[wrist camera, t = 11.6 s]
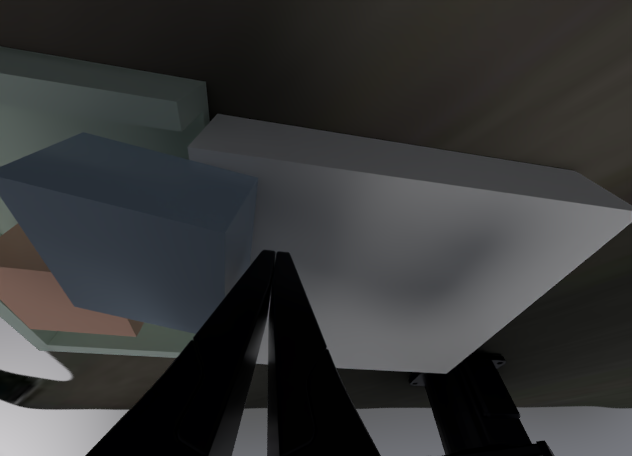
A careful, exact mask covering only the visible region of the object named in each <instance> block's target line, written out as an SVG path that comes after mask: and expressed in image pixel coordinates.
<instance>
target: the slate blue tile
mask: <svg viewBox="0 0 632 456" xmlns="http://www.w3.org/2000/svg"><path fill="white" fill-rule="evenodd" d="M257 186H258V178H256V177H253V176H249V175H245V174H241V173H237V172H234V171H230V170H226V169H222V168H218V167H214V166H211V165H207V164H203V163H199V162H195V161H192V160H188V159H184V158H180V157H176V156H173V155H169V154H165V153H161V152H157V151H153V150H150V149H146V148H142V147H138V146H134V145H131V144H127V143H123V142H119V141H115V140H112V139H108V138H104V137H100V136H96V135H92V134H89V133H85V132H82V133H80V134H78V135H75V136H73V137H70V138H68V139H66V140H63V141H61V142H58V143H56V144H54V145H51V146H49V147H46V148H44V149H42V150H39V151H37V152H34V153H32V154H30V155H27V156H25V157H22V158H20V159H18V160H15V161H13V162H10V163H8V164H6V165H3V166H1V167H0V197H1V199H2V200H3V202H4V203H5V205H6V206H7V208H8V209H9V210H10V212H11V213H12V215H13V216H14V218H15V219H16V221H17V222H18V224H19V225H20V227H21V228H22V230H23V231H24V233H25V234H26V236H27V237H28V239H29V240H30V242H31V243H32V245H33V246H34V248H35V249H36V251H37V252H38V253H39V255H40V256H41V258H42V259H43V261H44V262H45V264H46V265H47V267H48V268H49V270H50V271H51V273H52V274H53V276H54V277H55V279H56V280H57V282H58V283H59V285H60V286H61V288H62V289H63V291H64V292H65V293H66V295H67V296H68V298H69V299H70V301H71V302H72V304H73V305H74V307H78V308H83V309H87V310H92V311H96V312H100V313H105V314H109V315H114V316H118V317H123V318H127V319H131V320H136V321H140V322H145V323H149V324H154V325H158V326H163V327H167V328H171V329H176V330H180V331H185V332H189V333H194V334H196V333H197V332H198V331H199V329H200V328H201V327H202V326H203V324H204V323H205V322H206V320H207V319H208V318H209V317H210V315H211V314H212V313H213V312H214V310H215V309H216V308H217V307H218V305H219V304H220V303H221V302H222V300H223V299H224V298H225V297H226V295H227V294H228V293H229V291H230V290H231V289H232V288H233V286H234V285H235V284H236V283H237V281H238V280H239V279H240V278H241V276H242V275H243V274H244V273H245V271H246V270H247V269H248V268H249V266H250V259H251V249H252V238H253V228H254V217H255V207H256V196H257Z"/></svg>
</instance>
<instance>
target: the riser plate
mask: <svg viewBox="0 0 632 456" xmlns="http://www.w3.org/2000/svg"><path fill="white" fill-rule="evenodd" d="M187 148H188V154H189V160H192V161H195V162H199V163H203V164H207V165H211V166H214V167H218V168H222V169H226V170H230V171H234V172H237V173H241V174H245V175H249V176H253V177H256V178H258V186H257V196H256V207H255V217H254V228H253V238H252V249H251V259H250V265H251V264H252V262H253V261H254V260H255V259H256V257H257V256H258V255H259V254H260V252H261V251H262V250H273V251H275V252H276V253H277V252H278V251H282V252H289V253H290V255H291V257H292V260H293V262H294V265H295V267H296V270H297V272H298V275H299V277H300V280H301V282H302V285H303V287H304V290H305V292H306V295H307V297H308V300H309V302H310V305H311V307H312V310H313V312H314V315H315V317H316V320H317V322H318V325H319V327H320V330H321V332H322V335H323V337H324V340H325V342H326V345H327V349H328V350H329V352H330V355H331V357H332V360H333V362H334V364H335V367H336V368H348V369H367V370H386V371H405V372H424V373H443V374H447V373H448V372H449V371H450V370H452V369H453V368H454V367H455V366H457V365H458V364H459V363H460V362H461V361H463V360H464V359H465V358H466V357H468V356H469V355H470V354H471V353H472V352H474V351H475V350H476V349H477V348H479V347H480V346H481V345H482V344H483V343H485V342H486V341H487V340H488V339H490V338H491V337H492V336H493V335H494V334H496V333H497V332H498V331H499V330H500V329H502V328H503V327H504V326H505V325H507V324H508V323H509V322H510V321H511V320H513V319H514V318H515V317H516V316H518V315H519V314H520V313H521V312H522V311H524V310H525V309H526V308H527V307H529V306H530V305H531V304H532V303H533V302H535V301H536V300H537V299H538V298H540V297H541V296H542V295H543V294H544V293H546V292H547V291H548V290H549V289H551V288H552V287H553V286H554V285H555V284H557V283H558V282H559V281H560V280H562V279H563V278H564V277H565V276H566V275H568V274H569V273H570V272H571V271H573V270H574V269H575V268H576V267H577V266H579V265H580V264H581V263H582V262H584V261H585V260H586V259H587V258H588V257H590V256H591V255H592V254H593V253H595V252H596V251H597V250H598V249H599V248H601V247H602V246H603V245H604V244H606V243H607V242H608V241H609V240H610V239H612V238H613V237H614V236H615V235H617V234H618V233H619V232H620V231H621V230H623V229H624V228H625V227H626V226H628V225H629V224H630V223H631V222H632V205H630V204H629V203H627V202H625V201H624V200H622V199H620V198H619V197H617V196H615V195H614V194H612V193H611V192H609V191H607V190H606V189H604V188H602V187H601V186H599V185H597V184H596V183H594V182H593V181H591V180H589V179H588V178H586V177H584V176H583V175H581V174H579V173H578V172H576V171H573V170H567V169H560V168H554V167H548V166H542V165H535V164H529V163H523V162H517V161H510V160H504V159H498V158H492V157H485V156H479V155H473V154H466V153H460V152H454V151H448V150H441V149H435V148H429V147H423V146H416V145H410V144H404V143H398V142H391V141H385V140H379V139H373V138H366V137H360V136H354V135H348V134H341V133H335V132H329V131H323V130H316V129H310V128H304V127H298V126H291V125H285V124H279V123H272V122H266V121H260V120H254V119H247V118H241V117H235V116H229V115H222V114H217V115H216V116H215V117H214V118H213V119H212V120H211V121H210V122H209V124H208V125H207V126H206V127H205V128H204V129H203V130H202V131H201V132H200V134H199V135H198V136H197V137H196V138H195V139H194V140H193V141H192V142H191V144H190V145H189V146H188V147H187ZM275 259H276V256H275ZM270 299H271V297H270ZM269 309H270V304H269ZM268 320H269V311H268V317H267V322H266V326H265V330H264V334H263V338H262V341H261V345H260V349H259V353H258V357H257V361H256V364H268Z"/></svg>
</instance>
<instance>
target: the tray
mask: <svg viewBox="0 0 632 456" xmlns="http://www.w3.org/2000/svg"><path fill="white" fill-rule="evenodd" d="M209 122H210V118H209V108H208V98H207V88H206V82H205V81H199V80H193V79H187V78H181V77H176V76H170V75H164V74H158V73H153V72H147V71H141V70H135V69H129V68H124V67H118V66H112V65H106V64H100V63H95V62H89V61H83V60H77V59H72V58H66V57H60V56H54V55H48V54H43V53H37V52H31V51H25V50H19V49H14V48H8V47H2V46H0V167H1V166H3V165H6V164H8V163H10V162H13V161H15V160H18V159H20V158H22V157H25V156H27V155H30V154H32V153H34V152H37V151H39V150H42V149H44V148H46V147H49V146H51V145H54V144H56V143H58V142H61V141H63V140H66V139H68V138H70V137H73V136H75V135H78V134H80V133H82V132H85V133H89V134H92V135H96V136H100V137H104V138H108V139H112V140H115V141H119V142H123V143H127V144H131V145H134V146H138V147H142V148H146V149H150V150H153V151H157V152H161V153H165V154H169V155H173V156H176V157H180V158H184V159H188V160H189V154H188V148H187V147H188V146H189V145H190V144H191V142H192V141H193V140H194V139H195V138H196V137H197V136H198V135H199V134H200V132H201V131H202V130H203V129H204V128H205V127H206V126H207V125H208V124H209ZM16 224H18V222H17V221H16V219H15V218H14V216H13V215H12V213H11V212H10V210H9V209H8V208H7V206H6V205H5V203H4V202H3V200H2V199H1V197H0V236H1V235H3V234H4V233H5V232H7V231H8V230H10V229H11V228H12V227H14V226H15V225H16ZM0 317H1V318H2V319H4V320H5V321H6V322H7V323H8V324H10V325H11V326H12V327H13V328H14V329H15V330H16V331H18V332H19V333H20V334H21V335H22V336H23V337H24V338H26V339H27V340H28V341H29V342H30V343H31V344H32V345H34V346H35V347H36V348H37V349H38V350H41V351H59V352H78V353H97V354H115V355H134V356H153V357H171V358H177V357H178V355H179V354H180V353H181V352H182V351H183V349H184V348H185V347H186V345H187V344H188V343H189V342H190V341H191V340H193V337H194V336H195V334H194V333H189V332H185V331H180V330H176V329H171V328H167V327H163V326H158V325H154V324H149V323H145V322H144V324H143V326H142V328H141V330H140V331H139V333H138V335H137V337H130V336H117V335H104V334H90V333H77V332H64V331H50V330H37V329H30V328H29V327H28V326H27V325H26V324H24V323H23V322H22V321H21V320H20V319H19V318H18V317H17V316H16V315H15V314H14V313H13V312H12V311H11V310H10V309H9V308H8V307H7V306H6V305H5V304H4V303H3V302H2V301H1V300H0ZM193 341H194V340H193Z"/></svg>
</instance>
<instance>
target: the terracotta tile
mask: <svg viewBox="0 0 632 456" xmlns="http://www.w3.org/2000/svg"><path fill="white" fill-rule="evenodd" d="M0 300H1V301H2V302H3V303H4V304H5V305H6V306H7V307H8V308H9V309H10V310H11V311H12V312H13V313H14V314H15V315H16V316H17V317H18V318H19V319H20V320H21V321H22V322H23V323H24V324H26V325H27V326H28V327H29V328H30V329H37V330H50V331H64V332H77V333H90V334H104V335H117V336H130V337H137V335H138V333H139V331H140V330H141V328H142V326H143V324H144V322H140V321H136V320H131V319H127V318H123V317H118V316H114V315H109V314H105V313H100V312H96V311H92V310H87V309H83V308H78V307H74V305H73V304H72V302H71V301H70V299H69V298H68V296H67V295H66V293H65V292H64V291H63V289H62V288H61V286H60V285H59V283H58V282H57V280H56V279H55V277H54V276H53V274H52V273H51V271H50V270H49V268H48V267H47V265H46V264H45V262H44V261H43V259H42V258H41V256H40V255H39V253H38V252H37V251H36V249H35V248H34V246H33V245H32V243H31V242H30V240H29V239H28V237H27V236H26V234H25V233H24V231H23V230H22V228H21V227H20V225H19V224H16V225H15V226H14V227H12V228H11V229H10V230H8V231H7V232H5V233H4V234H3V235H1V236H0Z"/></svg>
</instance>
